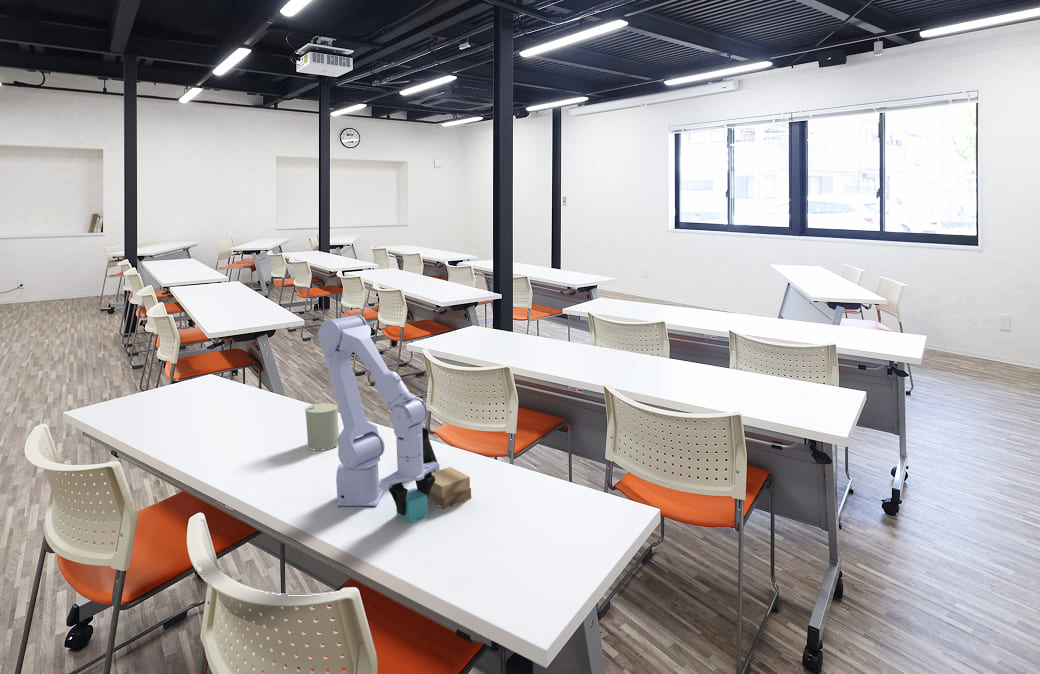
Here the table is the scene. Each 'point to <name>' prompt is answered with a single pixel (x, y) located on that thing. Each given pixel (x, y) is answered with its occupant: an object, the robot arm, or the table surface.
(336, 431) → the can
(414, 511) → the teal cube
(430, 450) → the phone stand
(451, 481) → the tower top
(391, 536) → the table surface
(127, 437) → the table surface
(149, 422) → the table surface
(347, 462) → the robot arm
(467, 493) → the tower base
